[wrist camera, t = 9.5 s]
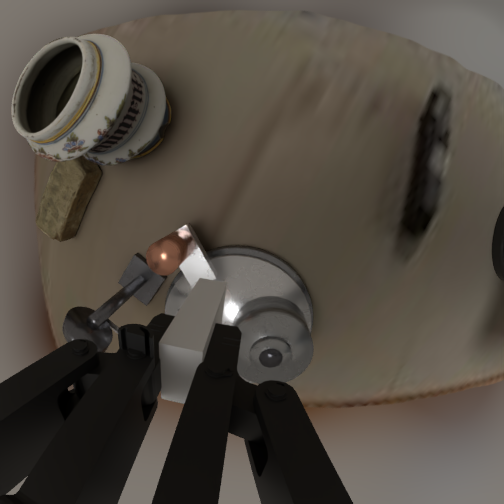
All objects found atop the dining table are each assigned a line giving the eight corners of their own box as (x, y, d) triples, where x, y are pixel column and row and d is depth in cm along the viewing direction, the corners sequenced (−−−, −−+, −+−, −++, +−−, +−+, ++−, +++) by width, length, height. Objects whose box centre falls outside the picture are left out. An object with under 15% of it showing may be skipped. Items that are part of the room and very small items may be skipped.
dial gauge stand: (185, 290, 35) (136, 363, 19) (166, 316, 36) (116, 391, 20) (137, 252, 34) (62, 300, 18) (121, 280, 35) (50, 335, 19)
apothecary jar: (163, 176, 31) (70, 173, 14) (88, 158, 31) (-14, 155, 13) (193, 84, 28) (133, 7, 11) (114, 76, 28) (30, 28, 10)
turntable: (251, 189, 29) (247, 191, 21) (329, 348, 34) (345, 389, 25) (124, 261, 32) (87, 284, 24) (213, 392, 36) (203, 434, 28)
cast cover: (287, 283, 30) (293, 305, 25) (317, 342, 32) (326, 370, 27) (218, 315, 32) (209, 341, 26) (253, 368, 34) (252, 399, 28)
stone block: (53, 219, 33) (31, 225, 28) (80, 150, 31) (59, 148, 26) (76, 239, 34) (55, 247, 29) (107, 168, 31) (86, 167, 26)
